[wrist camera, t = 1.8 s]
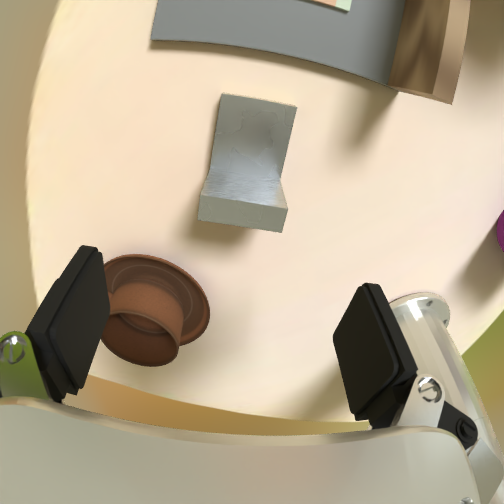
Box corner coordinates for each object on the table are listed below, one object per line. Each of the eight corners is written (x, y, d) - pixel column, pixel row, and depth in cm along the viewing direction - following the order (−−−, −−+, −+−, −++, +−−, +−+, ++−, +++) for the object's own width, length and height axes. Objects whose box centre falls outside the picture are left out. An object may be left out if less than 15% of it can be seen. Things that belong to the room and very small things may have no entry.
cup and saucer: (101, 319, 31) (84, 361, 26) (96, 231, 24) (66, 273, 19) (201, 343, 33) (195, 389, 28) (223, 261, 26) (218, 311, 21)
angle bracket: (273, 193, 23) (281, 232, 18) (208, 183, 22) (197, 219, 17) (294, 105, 19) (311, 117, 14) (223, 92, 18) (214, 99, 13)
